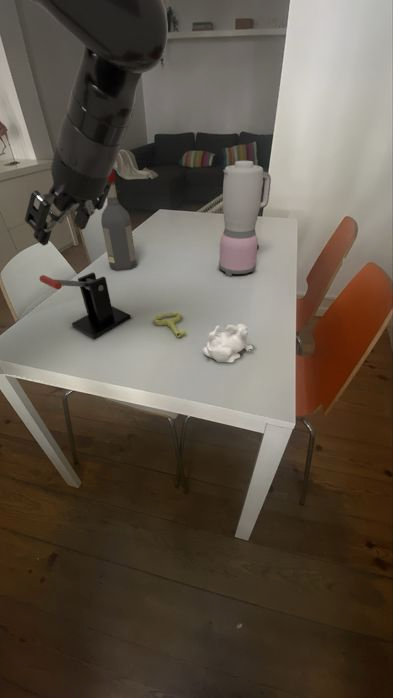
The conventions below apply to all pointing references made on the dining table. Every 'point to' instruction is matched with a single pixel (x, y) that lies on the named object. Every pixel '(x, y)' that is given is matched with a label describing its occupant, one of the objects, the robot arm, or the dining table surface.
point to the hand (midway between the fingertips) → (60, 233)
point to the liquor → (117, 232)
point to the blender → (241, 216)
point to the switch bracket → (98, 309)
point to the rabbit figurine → (227, 343)
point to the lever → (64, 282)
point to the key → (170, 322)
